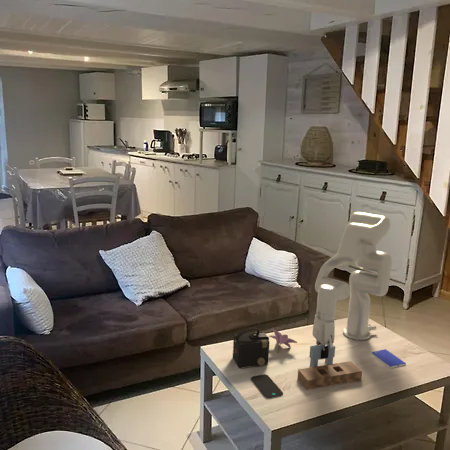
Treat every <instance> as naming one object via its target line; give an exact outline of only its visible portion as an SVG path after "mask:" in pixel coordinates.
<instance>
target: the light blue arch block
mask: <svg viewBox="0 0 450 450" xmlns="http://www.w3.org/2000/svg"><path fill="white" fill-rule="evenodd" d="M325 346H327V345H325ZM321 350H322V344H321V345H317V344H314V345H310V347H309V358H310V360H309V366H310V367H317V366H319V360H322V359H321ZM335 353H336V345H335V344H333V348H332V349H330V350H329V353H328V358H325V359H324V365H329V364H334V358H335V355H336V354H335Z"/></svg>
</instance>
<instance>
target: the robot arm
mask: <svg viewBox="0 0 450 450" xmlns="http://www.w3.org/2000/svg"><path fill="white" fill-rule="evenodd" d="M349 219H350V220H349V221H350V222H349V223H348V224H347V225H346V226H345V228H344V231H343V233H342V237H341V240H340V242H339V246H338V249H337V251H336V254H335V255H333V256H332V257H330V258H329V259H327V261H325V262H324V263H323V264H322V266H321V267H320V269H319V271H318V274H317V277H316V280H315V284H314V289H315V292H316V293H317V299H316V301H317V302H316V313H315V316H314V321H313V324H312V325H313V326H312V337H313V338H314V339H315V340H316V342H315V343H316V344H315V345H321V344H322V350H321V359H320V360H325V358H328V353H329V350H330V349H332V348H333V345H334V342H335V334H336V333H335V331H336V330H335V327H336V326H335V325H336V323H335V320H336V310H337V309H336V308H337V302H340V301H344V300H346V299H347V298H348V297H349V302H348V311H347V313H348V314H347V321H346V323H347V324H346V327H344V328H343V329H342V334H343V335H344V336H345V337H346V338H348V339H351V340H356V341H365V340H369V339H370V338H371V331H375V330H377V326H376V325H371V324H369V319H370V311H371V301H372V300H371V298H370V295H373V296H377V297H384V296H386V294H387V293H388V291H389V286H390V278H391V273H392V272H391V271H392V262H393V260H392V256H391V254H389V252H386V251H381V250H378V249H377V244H379V243H380V242H381V241H382V240H383V238H384V237H385V236H386V235H387V234H388V232H389V231H390V228H391V219H390V218H389V217H388V216H386V215H381V214H374V213H369V212H363V211H355V212H353V213H352V214H351V215H350V217H349ZM353 263H355V266H356V267H357V268H359V269H358V270H354V271H352V272H351V273H350V275H349V279H348V280H349V281H348V283H347V282H345V281H341V280H338V279H334V278H331V277H329V274H330V272H331V271H333V269H335V268H337V267H340V266H344V265H349V264H353ZM361 269H363V270H361ZM366 270H367V271H366ZM371 271H372V272H371ZM374 272H376V273H374ZM325 345H327V346H325Z"/></svg>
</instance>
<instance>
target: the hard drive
mask: <svg viewBox="0 0 450 450" xmlns="http://www.w3.org/2000/svg"><path fill="white" fill-rule="evenodd" d="M370 354H371V355H372V356H373V357H374V358H376V359H377V360H379V361H380V362H381V363H383V364H384V365H385V366H387V367H388V368H389V369H393V368H397V367H402V366H405V365H406V366H407V363H406V362H405V361H404V360H402V359H400V358H399V357H398V356H396V355H395V354H393V353H392V352H390V351H389V350H388V349H386V348H385V349H378V350H374V351H371V353H370Z"/></svg>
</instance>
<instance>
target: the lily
mask: <svg viewBox="0 0 450 450" xmlns="http://www.w3.org/2000/svg"><path fill="white" fill-rule="evenodd" d="M272 331H273V333H274V335H269V336H268V337H269V338H272V339H274V340H275V342H276V344H277V345H278V344H279V346H278V350H277V354H279V352H280V347H281V345H285V346H286V347H288V348H290V349H291V344H292V343H293V344H297V343H299V342H298V341H296V340H294V339H293V338H289V337H288V334H282V333H281V332H279V331H278V330H277V329H272Z"/></svg>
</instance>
